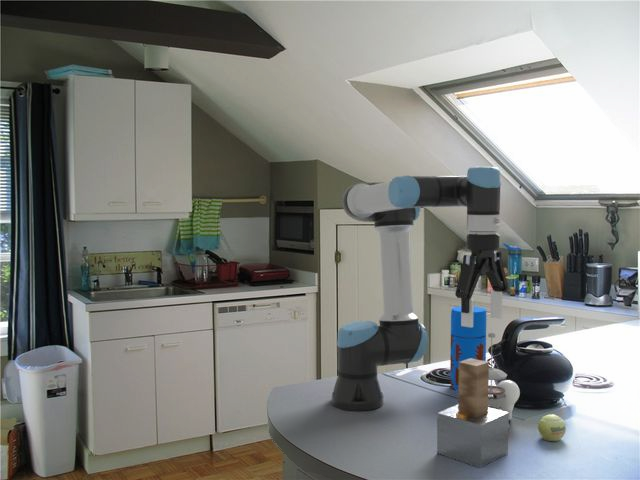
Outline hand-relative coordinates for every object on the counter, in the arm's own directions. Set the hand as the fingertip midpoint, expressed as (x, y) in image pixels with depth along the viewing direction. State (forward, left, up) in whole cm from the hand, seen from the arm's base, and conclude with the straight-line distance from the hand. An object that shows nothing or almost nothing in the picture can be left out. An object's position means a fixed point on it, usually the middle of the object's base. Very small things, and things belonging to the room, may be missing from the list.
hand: (482, 322), depth 166 cm
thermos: (-31, +42, -32) cm, 61 cm away
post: (-1, -2, -32) cm, 32 cm away
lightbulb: (-7, +24, -32) cm, 40 cm away
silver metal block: (-1, -2, -32) cm, 32 cm away
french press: (-9, +17, -32) cm, 37 cm away
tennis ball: (+8, +20, -32) cm, 38 cm away
